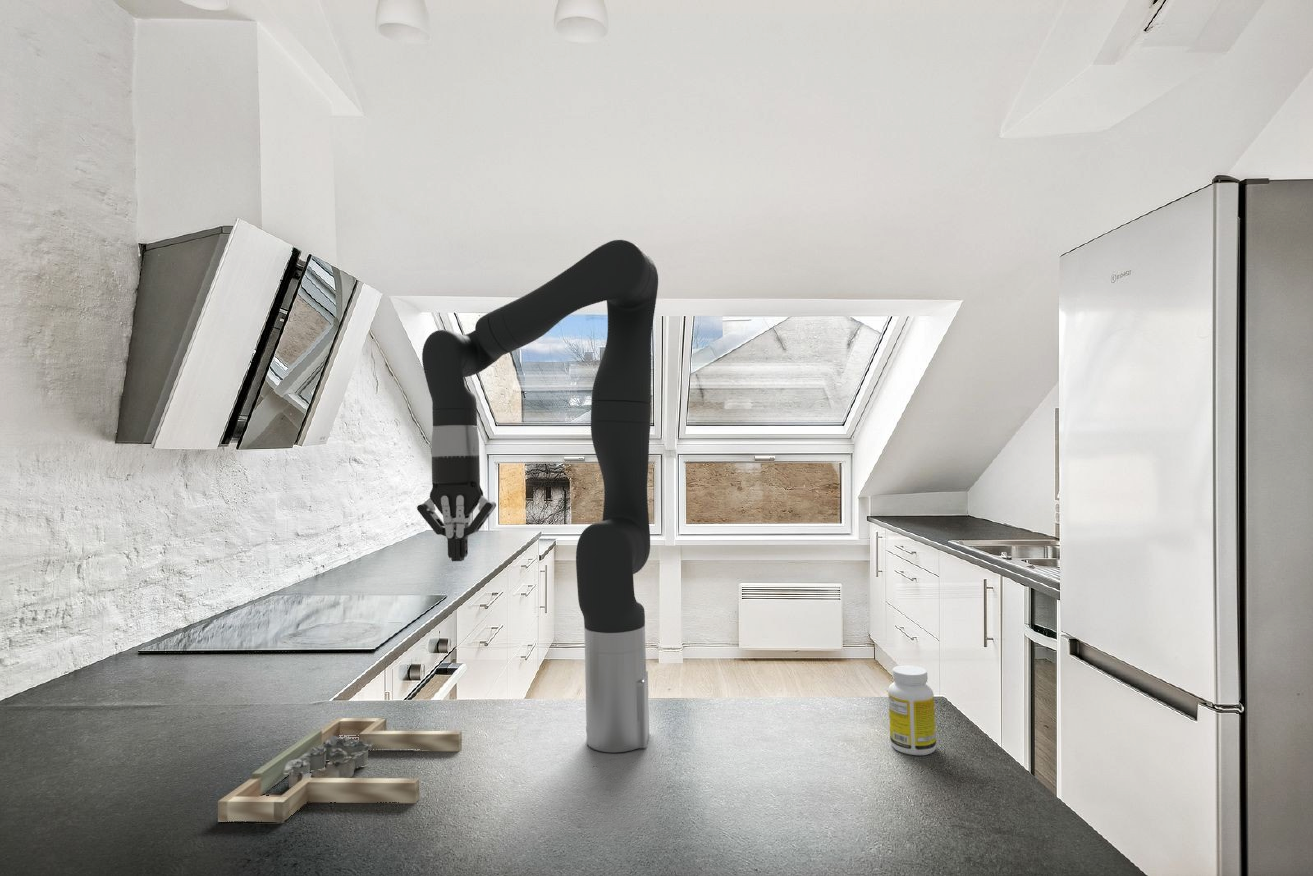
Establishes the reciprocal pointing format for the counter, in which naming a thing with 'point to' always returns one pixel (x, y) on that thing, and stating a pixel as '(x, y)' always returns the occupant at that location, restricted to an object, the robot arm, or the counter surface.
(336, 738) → the egg carton
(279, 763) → the box
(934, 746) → the pill bottle
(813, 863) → the counter surface
